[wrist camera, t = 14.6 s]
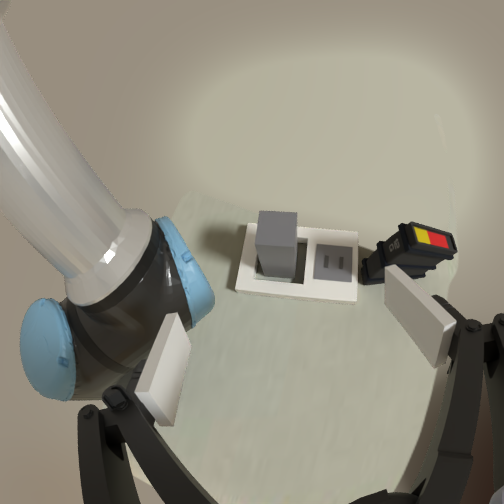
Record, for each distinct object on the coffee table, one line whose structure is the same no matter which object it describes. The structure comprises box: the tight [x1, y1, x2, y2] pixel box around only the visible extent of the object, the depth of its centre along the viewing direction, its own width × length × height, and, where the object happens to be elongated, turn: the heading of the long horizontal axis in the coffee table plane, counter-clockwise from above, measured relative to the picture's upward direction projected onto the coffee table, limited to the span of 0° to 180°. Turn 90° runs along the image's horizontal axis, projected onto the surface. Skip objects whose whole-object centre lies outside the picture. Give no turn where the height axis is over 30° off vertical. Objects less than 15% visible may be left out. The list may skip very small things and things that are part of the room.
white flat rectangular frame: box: [235, 223, 358, 305], centre depth 44 cm, size 19×12×2 cm, turn 81°
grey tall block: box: [254, 211, 297, 279], centre depth 40 cm, size 5×5×12 cm
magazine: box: [361, 222, 457, 285], centre depth 37 cm, size 4×13×15 cm, turn 92°
